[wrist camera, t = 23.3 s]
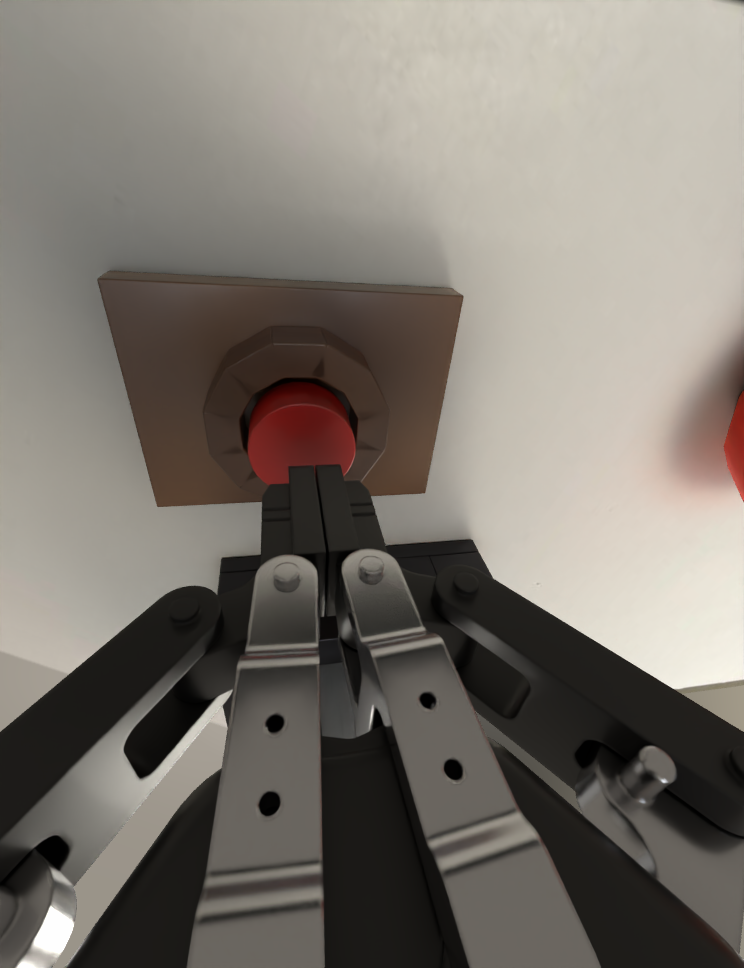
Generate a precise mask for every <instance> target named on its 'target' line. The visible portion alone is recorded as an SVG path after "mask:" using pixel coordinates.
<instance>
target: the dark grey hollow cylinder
mask: <svg viewBox="0 0 744 968" xmlns="http://www.w3.org/2000/svg"><path fill="white" fill-rule="evenodd" d="M320 718H321V728H322V736H327V737H336V738H344V739H352V738H356V736H355V723H354V715H353V710H352V705H351V701H350V696H349V692H348V687H347V683H346V679H345V674H344V670H343V665H342V663H335V664H327V665H320Z"/></svg>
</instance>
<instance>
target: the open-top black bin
mask: <svg viewBox="0 0 744 968" xmlns="http://www.w3.org/2000/svg"><path fill="white" fill-rule="evenodd" d="M386 549H387V552H388V554H389V555H391V556H392V557H393V558H394V559H395V560H396V561H397V563H398V564H399V566H400V567H402V568H403V569H405V570H408V571H410V572H414V573H418V574H424V575H429V576H435V577H436V576H437V574H438V572H439V571H440V570H441V569H443V568H444V567H447V566H450V565H455V564H461V565H467V566H471V567H474V568H476V569H478V570H480V571H481V572H483V573H485V574H486V575H488V576H490V577H491V578H493V577H492V575H491V574H490V572H489V570H488V568H487V566H486V564H485V562H484V561H483V559H482V557H481V555H480V553H479V552H478V549H477V548H476V546H475V544H474V542H473V540H464V541H451V542H438V543H424V544H411V545H398V546H386ZM260 563H261V556H253V557H240V558H227V559H222V560H221V567H220V576H219V585H218V593H217V595H220V594H223V593H226V592H229V591H232V590H234V589H237V588H239V587H241V586H243V585H244V584H246V583H247V582H249V581H250V580H251V579H252V578H253V577H254V576H255V574H256V573H257V571H258V569H259V567H260ZM337 639H338V624H337V618H336V616H327V614H326V606H324V617H320V637H319V664H320V665H327V664H335V663H342V661H341V657H340V652H339V648H338V642H337ZM233 690H234V689H233ZM232 697H233V691H232V693H231V695H230V697H229V698H228V699H227V701H226V702H225V703H224V704H223V709H224V713H225V718H226V722H227V726H228V723H229V717H230V710H231V703H232ZM320 728H321V718H320ZM321 736H322V728H321Z"/></svg>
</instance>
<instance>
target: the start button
mask: <svg viewBox="0 0 744 968" xmlns="http://www.w3.org/2000/svg"><path fill="white" fill-rule="evenodd" d="M355 451H356V444H355V438H354V435H353V432H352V428H351V425H350V422H349V419H348V416H347V412H346V410H345V408H344V406H343V404H342V403H341V401H340V400H339V399H338V398H337V397H336V396H335V395H334V394H333V393H332V392H330V391H329V390H327V389H326V388H324V387H321V386H319V385H316V384H313V383H307V382H291V383H286V384H283V385H279V386H277V387H275V388H273V389H271V390H270V391H268V392H267V393H266V394H264V395H263V396H262V397H261V398H260V399H259V400H258V402H257V403H256V405H255V406H254V408H253V410H252V413H251V416H250V422H249V435H248V457H249V461H250V464H251V466H252V468H253V470H254V472H255V473H256V474H257V476H258V477H259V478H260V479H261V480H262V481H263V482H265V483H266V484H267V485H270V484H284V483H289V474H288V466H302V465H313V466H314V471H315V465H328V464H340V465H341V468H342V473H343V477H344V475H345V474H346V473H347V472H348V470H349V469H350V467H351V465H352V463H353V460H354V457H355Z"/></svg>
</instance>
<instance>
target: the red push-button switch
mask: <svg viewBox="0 0 744 968" xmlns="http://www.w3.org/2000/svg"><path fill="white" fill-rule="evenodd" d="M97 280H98V284H99V288H100V292H101V295H102V299H103V303H104V307H105V311H106V314H107V318H108V322H109V326H110V330H111V333H112V337H113V341H114V345H115V348H116V352H117V356H118V360H119V364H120V367H121V371H122V375H123V379H124V383H125V386H126V390H127V394H128V398H129V401H130V405H131V409H132V413H133V417H134V420H135V424H136V428H137V432H138V436H139V439H140V443H141V447H142V451H143V454H144V458H145V462H146V466H147V470H148V473H149V477H150V481H151V485H152V488H153V492H154V496H155V500H156V504H157V506H158V507H167V506H187V505H206V504H226V503H245V502H262V496H263V494H264V493H265V491H266V490H267V488H268V487H269V485H267V484H266V483H265V482H263V481H262V480H261V479H260V478H259V477H258V476H257V474H256V473H255V472H254V470H253V468H252V466H251V464H250V461H249V457H248V435H249V422H250V416H251V413H252V410H253V408H254V406H255V405H256V403H257V402H258V400H259V399H260V398H261V397H262V396H263V395H264V394H266V393H267V392H268V391H270V390H271V389H273V388H275V387H277V386H279V385H283V384H286V383H291V382H307V383H313V384H316V385H319V386H321V387H324V388H326V389H327V390H329V391H330V392H332V393H333V394H334V395H335V396H336V397H337V398H338V399H339V400H340V401H341V403H342V404H343V406H344V408H345V410H346V412H347V416H348V419H349V422H350V425H351V428H352V432H353V435H354V438H355V444H356V451H355V457H354V460H353V463H352V465H351V467H350V469H349V470H348V472H347V473H346V474H345V475H344V481H352V480H359V481H360V482H361V483H362V484H363V485H364V486H365V487H366V488H367V489H368V490H369V492H370V496H382V495H402V494H421V493H425V491H426V485H427V480H428V475H429V470H430V465H431V460H432V455H433V450H434V445H435V440H436V434H437V429H438V424H439V419H440V414H441V409H442V404H443V399H444V394H445V388H446V383H447V378H448V373H449V368H450V363H451V358H452V353H453V348H454V343H455V337H456V332H457V327H458V322H459V317H460V312H461V307H462V302H463V295H461V294H460V293H458V292H457V291H455V290H454V289H452V288H435V287H415V286H396V285H376V284H356V283H337V282H317V281H297V280H278V279H258V278H239V277H219V276H199V275H180V274H160V273H140V272H121V271H108V272H106V273H105V274H103V275H102V276H101V277H99V278H98V279H97Z"/></svg>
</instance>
